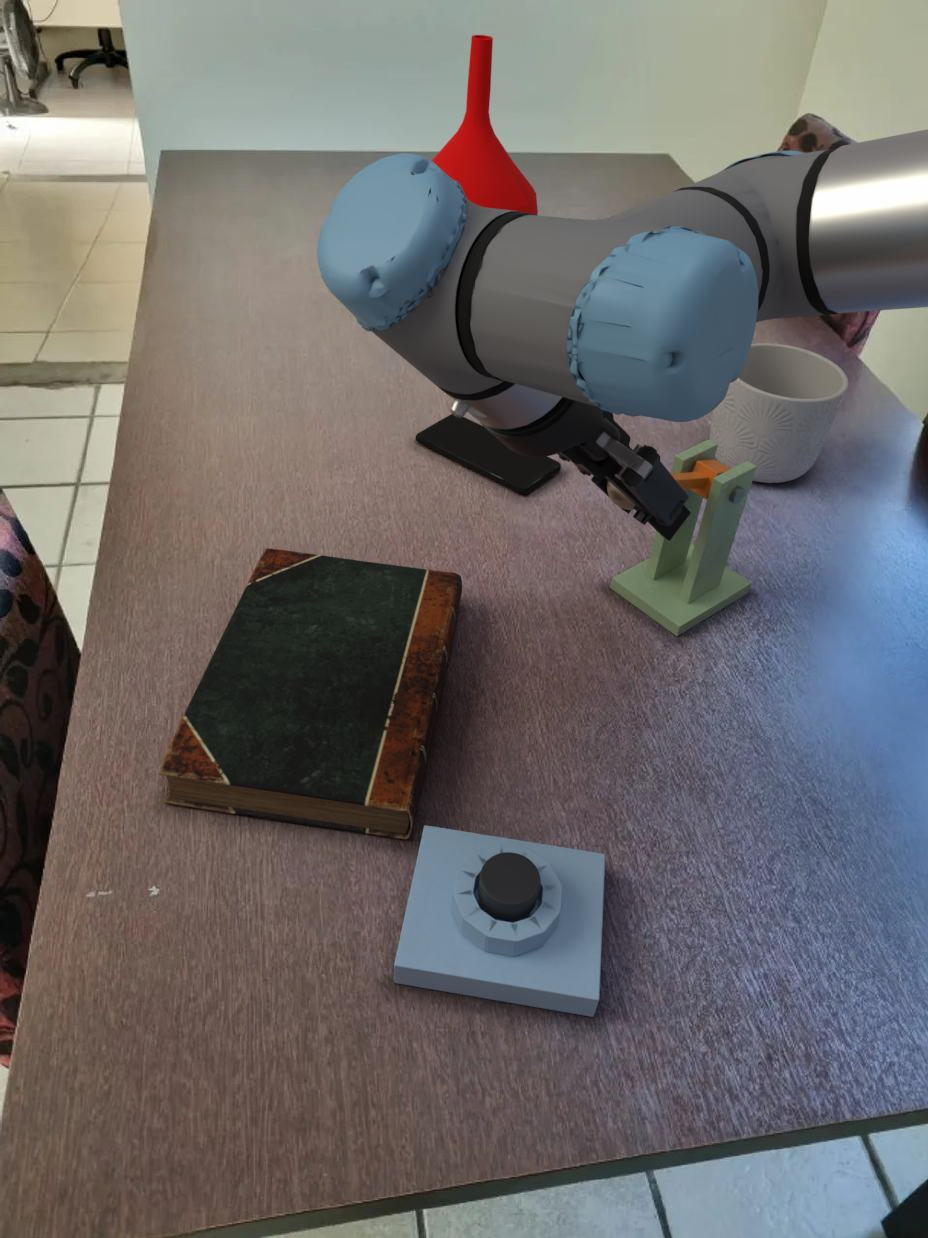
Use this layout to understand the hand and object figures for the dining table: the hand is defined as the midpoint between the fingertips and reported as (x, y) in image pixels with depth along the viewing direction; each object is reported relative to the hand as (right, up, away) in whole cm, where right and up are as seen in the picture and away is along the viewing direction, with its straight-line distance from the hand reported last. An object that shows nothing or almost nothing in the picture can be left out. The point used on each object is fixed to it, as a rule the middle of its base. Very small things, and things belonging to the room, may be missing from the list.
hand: (655, 510), depth 74 cm
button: (-12, -25, -17) cm, 33 cm away
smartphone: (-13, +9, +26) cm, 30 cm away
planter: (+17, +8, +28) cm, 34 cm away
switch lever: (+1, +1, 0) cm, 1 cm away
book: (-26, -14, -1) cm, 29 cm away
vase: (-15, +41, +61) cm, 75 cm away
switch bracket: (+4, -6, +11) cm, 13 cm away
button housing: (-13, -28, -15) cm, 34 cm away
